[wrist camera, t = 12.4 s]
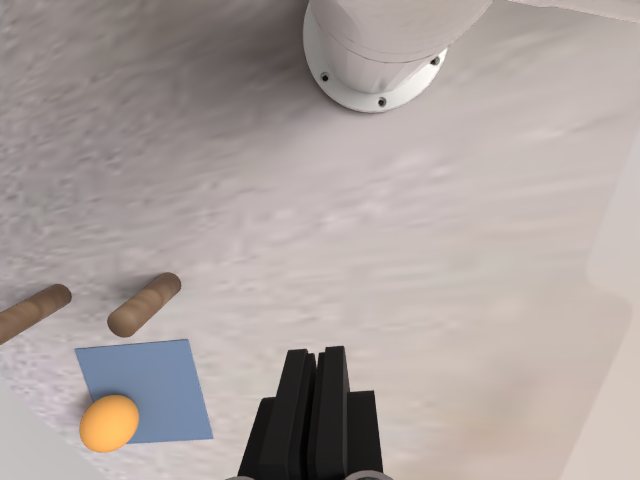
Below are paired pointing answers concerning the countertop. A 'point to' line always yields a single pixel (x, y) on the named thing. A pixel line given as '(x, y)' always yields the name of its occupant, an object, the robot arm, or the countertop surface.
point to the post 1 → (32, 311)
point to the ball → (109, 423)
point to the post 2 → (143, 305)
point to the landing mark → (151, 387)
